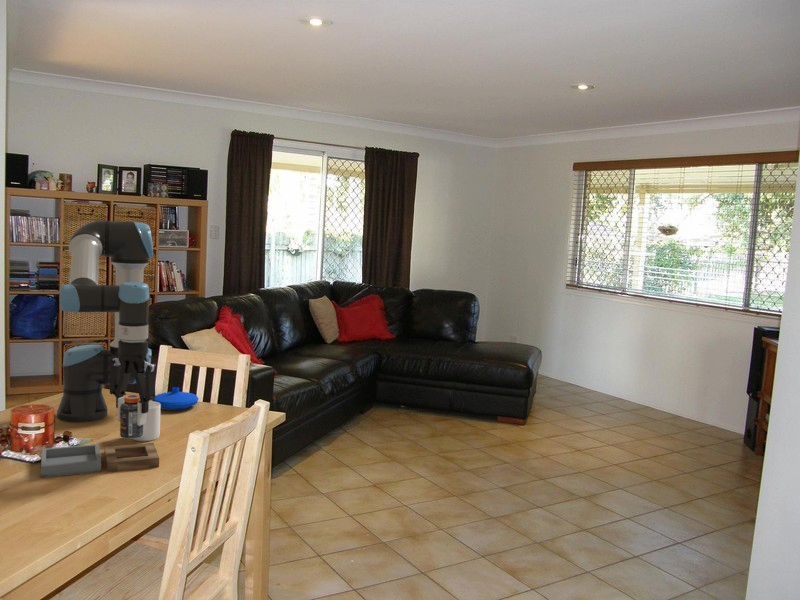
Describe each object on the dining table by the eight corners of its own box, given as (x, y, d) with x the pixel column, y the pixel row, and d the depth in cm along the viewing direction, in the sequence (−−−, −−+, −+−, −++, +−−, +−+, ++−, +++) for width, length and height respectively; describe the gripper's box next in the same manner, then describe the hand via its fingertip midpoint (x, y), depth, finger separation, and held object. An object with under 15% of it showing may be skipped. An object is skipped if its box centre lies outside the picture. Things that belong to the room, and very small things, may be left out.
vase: (202, 402, 251) (203, 383, 250) (192, 414, 235) (193, 394, 234) (158, 400, 249) (159, 381, 248) (146, 412, 234) (146, 392, 233)
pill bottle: (118, 433, 189) (118, 393, 187) (140, 431, 192) (141, 392, 191) (122, 440, 184) (122, 399, 182) (145, 437, 187) (145, 397, 185)
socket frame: (103, 452, 194) (103, 443, 194) (152, 447, 200) (152, 439, 199) (107, 472, 180) (107, 462, 179) (159, 466, 186) (159, 457, 185)
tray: (42, 459, 186) (42, 448, 185) (98, 454, 192) (98, 444, 192) (41, 478, 173) (40, 466, 173) (100, 471, 179) (101, 461, 179)
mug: (150, 446, 201) (151, 412, 200) (122, 445, 200) (122, 411, 199) (163, 433, 213) (164, 401, 212) (136, 432, 212) (137, 400, 211)
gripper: (95, 337, 184) (94, 420, 187) (152, 346, 178) (151, 431, 181) (115, 333, 191) (114, 413, 194) (171, 341, 185) (169, 424, 188)
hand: (131, 421), depth 187 cm, fingers closed on pill bottle, 6 cm apart
